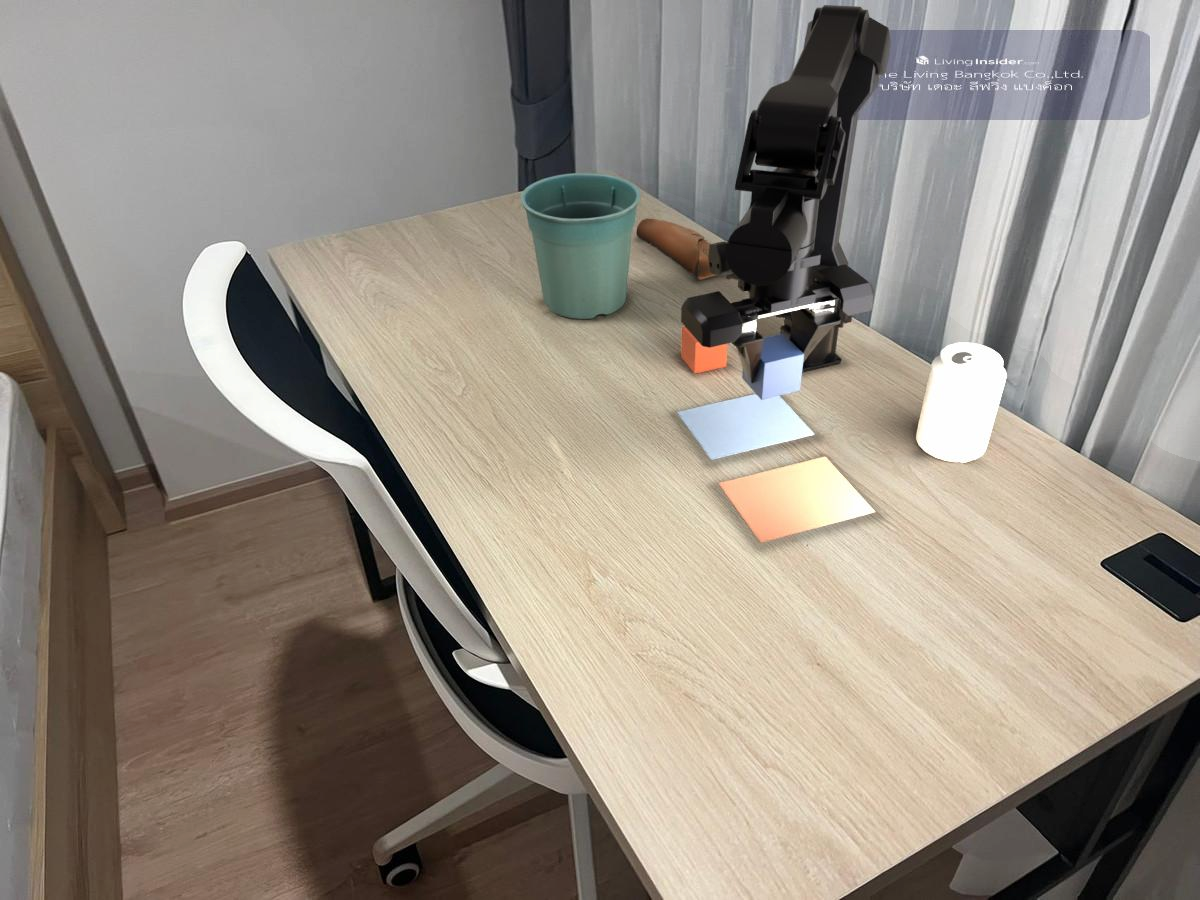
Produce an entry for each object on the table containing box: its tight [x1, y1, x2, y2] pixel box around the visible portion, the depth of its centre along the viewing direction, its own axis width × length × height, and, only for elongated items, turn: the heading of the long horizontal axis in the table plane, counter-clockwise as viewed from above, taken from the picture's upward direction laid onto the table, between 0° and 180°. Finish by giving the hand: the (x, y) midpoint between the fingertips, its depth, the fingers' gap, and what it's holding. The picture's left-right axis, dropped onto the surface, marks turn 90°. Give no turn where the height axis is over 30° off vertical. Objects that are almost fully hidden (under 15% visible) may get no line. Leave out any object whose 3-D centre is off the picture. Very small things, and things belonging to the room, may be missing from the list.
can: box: [915, 342, 1007, 464], centre depth 97 cm, size 8×8×12 cm
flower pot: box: [520, 172, 642, 320], centre depth 127 cm, size 16×16×16 cm
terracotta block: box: [680, 325, 729, 374], centre depth 116 cm, size 4×4×4 cm
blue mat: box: [676, 393, 816, 461], centre depth 105 cm, size 13×10×1 cm
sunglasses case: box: [635, 218, 719, 281], centre depth 142 cm, size 18×7×7 cm
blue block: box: [741, 333, 804, 400], centre depth 94 cm, size 4×4×4 cm
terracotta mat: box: [717, 455, 876, 544], centre depth 94 cm, size 13×10×1 cm
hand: (771, 376), depth 94 cm, fingers closed on blue block, 4 cm apart
